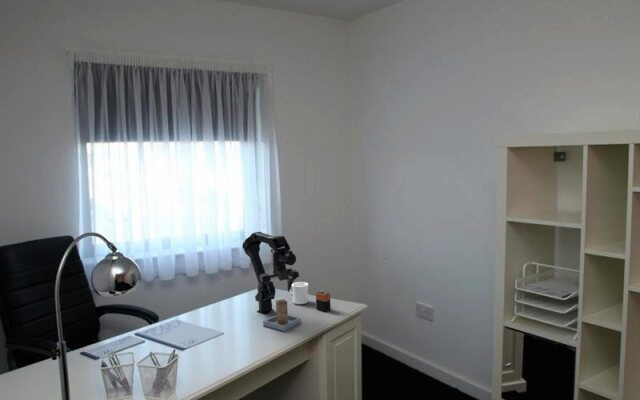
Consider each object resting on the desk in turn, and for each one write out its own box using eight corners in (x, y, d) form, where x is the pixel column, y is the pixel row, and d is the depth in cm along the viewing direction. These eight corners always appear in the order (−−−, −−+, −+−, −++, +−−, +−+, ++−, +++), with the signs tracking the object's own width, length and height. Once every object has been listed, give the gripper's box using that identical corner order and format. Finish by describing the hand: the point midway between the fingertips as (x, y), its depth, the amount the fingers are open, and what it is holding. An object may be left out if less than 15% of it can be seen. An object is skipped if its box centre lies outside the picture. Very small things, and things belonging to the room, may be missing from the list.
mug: (309, 300, 259) (309, 281, 257) (307, 305, 250) (307, 286, 249) (290, 299, 260) (289, 281, 259) (287, 305, 251) (286, 286, 250)
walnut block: (276, 322, 225) (275, 300, 224) (284, 321, 227) (284, 299, 225) (279, 325, 221) (278, 303, 220) (287, 324, 223) (287, 301, 221)
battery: (321, 307, 247) (321, 288, 245) (331, 310, 242) (330, 291, 241) (315, 309, 244) (315, 290, 242) (325, 312, 239) (324, 293, 238)
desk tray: (263, 326, 223) (263, 321, 222) (280, 317, 233) (280, 313, 232) (283, 331, 215) (283, 326, 215) (300, 323, 225) (300, 318, 225)
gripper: (265, 267, 218) (266, 300, 220) (302, 263, 225) (303, 294, 227) (258, 262, 228) (259, 293, 230) (294, 258, 235) (295, 288, 237)
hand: (279, 292), depth 231 cm, fingers open, 9 cm apart
